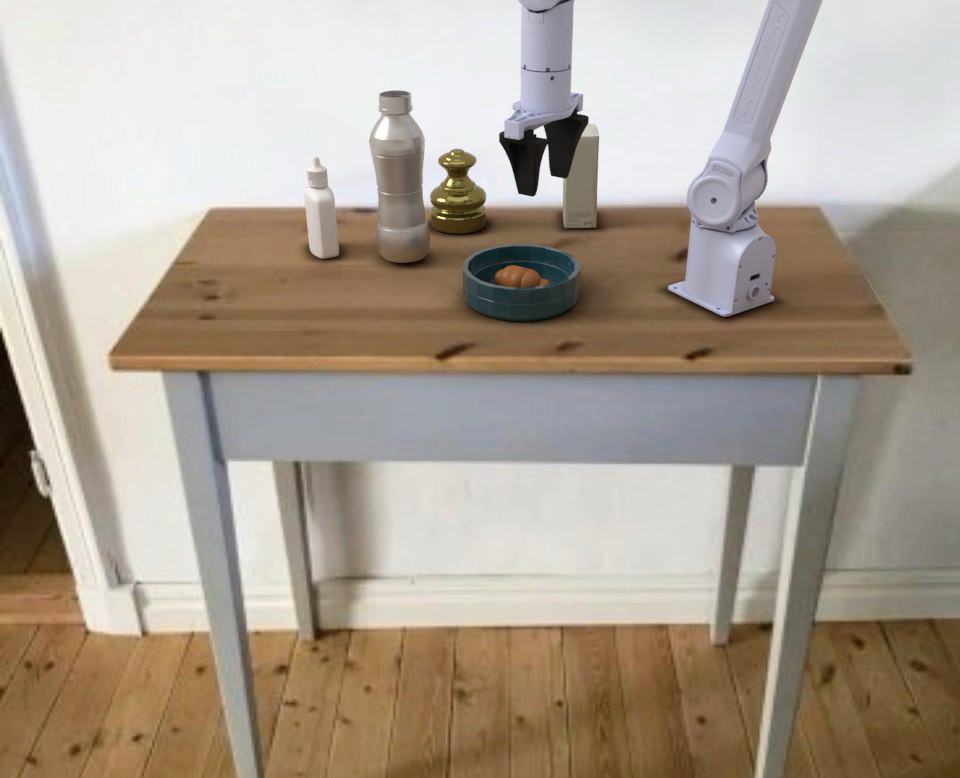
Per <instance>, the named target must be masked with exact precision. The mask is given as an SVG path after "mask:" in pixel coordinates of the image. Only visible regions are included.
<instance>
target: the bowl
mask: <svg viewBox="0 0 960 778" xmlns="http://www.w3.org/2000/svg"><path fill="white" fill-rule="evenodd" d="M580 264H581V263H580V261H579V260H578V259H577V258H576V257H575V256H574V255H572V254H570V253H569V252H566V251H564V250H562V249H560V248H555V247H551V246H547V245H541V244H532V243H531V244H530V243H529V244H528V243H512V244H503V245H496V246H495V245H494V246H491V247H487V248H484V249H481V250H478V251H477V252H473V253H472V254H470V255H469V256H468V257H467V258H466V259H465V260H464V261H463V264H462V298H463V300H464V301H465V302H466V304H467V305H468V306H469V307H471V308H472V309H473V310H475V311H476V312H477V313H479V314H481V315H483V316H486V317H488V318H492V319H497V320H503V321H511V322H533V321H539V320H547V319H550V318H554V317H557V316H559V315H561V314H563V313H565V312H567V311H569V309H571V308H572V307H574V306H575V304H576V303H577V301H578V300H579V299H580V287H581V286H580V285H581V284H580V283H581V265H580ZM511 265H515V266H520V267H524V268H528V269H532V270H535V271H536V272H537V273H538V274H539V275H540V277H541V279H547V280H548V281H550V283H551V284H549V285H545V286H537V287H506V286H499V285H496V283H495V279H494V277H495V274H496V273H497V272H498V271H499V270H502V269H504V268H506V267H508V266H511Z"/></svg>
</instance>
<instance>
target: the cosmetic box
mask: <svg viewBox="0 0 960 778" xmlns="http://www.w3.org/2000/svg"><path fill="white" fill-rule="evenodd" d="M599 149H600V132H599V129H598V126H597V124H596V123H588V125H587V126H586V128H585V130H584V132H583V133H582V135H581V138H580V140H579V142H578V145H577V148H576V151H575V154H574V157H573V161H572V165H571V169H570V172H569V175H568V177H567V178H566V179H565V178H562V220H563V226H564V227H563V228H564V229H595V228H597V217H598V181H599V180H598V178H599V152H600V150H599Z"/></svg>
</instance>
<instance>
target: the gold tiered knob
mask: <svg viewBox="0 0 960 778" xmlns="http://www.w3.org/2000/svg"><path fill="white" fill-rule="evenodd" d="M477 162H478V161H477V157H476V156H475V155H474V154H472V153H471V152H467V151H465V150H464V149H462V148H454V149H451V150H450V151H448V152H445V153H443V154H441V155H440V156H439V157H438V159H437V163H438V165H439V166H440V167H441V168H443V169H444V170H445V171H446V174H447V176H446V177H445V178H444V180H443V181H441V182H440V183H439V185H438V186H436V187H434V188H433V189H432V190H431V192H430V194H429V200H430V203H431V205H432V207H431V208H430V220H431V221H430V225H431V226H432V228H433V229H435V230H436V231H438V232H441V233H445V234H450V235H451V234H452V235H461V234H462V235H464V234H471V233H475V232H478V231H480V230H482V229H483V228H484V227H486V224H487V207H486V206H485V203H486V201H487V192H486V190H485V189H484V188H483V187H482V186H481V185H477V183H476V182H475V181H474V180H472V179H471V177H470V176H469V172H470V170H471V169H472V167H474V166H475V165H476V164H477Z"/></svg>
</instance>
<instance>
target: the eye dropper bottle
mask: <svg viewBox="0 0 960 778" xmlns="http://www.w3.org/2000/svg"><path fill="white" fill-rule="evenodd" d="M320 161H321V160H320V158H319V156H313V157H312V162H311V166H309V167H307V168H306V177H307V187H306V188H305V189H304V195H303V196H304V206H305V216H306V226H307V237H308V238H307V239H308V247H309V251H310V252H311V254H312V255H313V256H315V257H316V258H319V259H322V260H324V259H325V260H326V259H332V258H337V257H338V256H339V254H340V245H339V233H338V221H337V211H336V210H337V209H336V200H335V194H334V192H333V189H332V188H331V187H330V186H329V178H328V177H329V176H328V168H327V167H326V166H324V165H322V163H321V162H320Z"/></svg>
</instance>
